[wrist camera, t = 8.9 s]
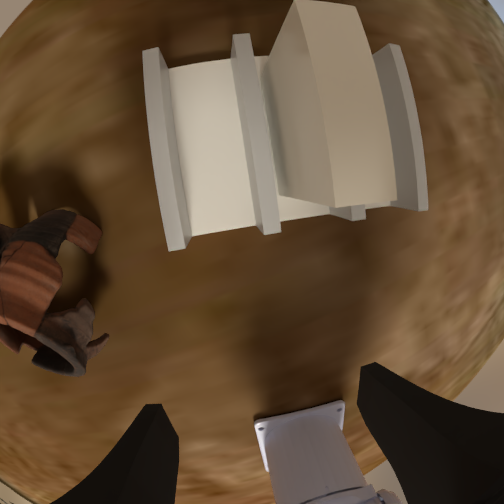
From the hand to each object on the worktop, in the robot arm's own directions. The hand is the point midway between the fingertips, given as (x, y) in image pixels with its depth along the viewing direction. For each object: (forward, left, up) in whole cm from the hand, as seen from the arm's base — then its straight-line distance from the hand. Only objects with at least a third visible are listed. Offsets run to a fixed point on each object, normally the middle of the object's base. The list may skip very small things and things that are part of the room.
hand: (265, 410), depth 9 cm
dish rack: (+10, -4, -9) cm, 14 cm away
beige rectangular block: (+10, -4, -8) cm, 14 cm away
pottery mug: (+4, +13, -10) cm, 17 cm away
